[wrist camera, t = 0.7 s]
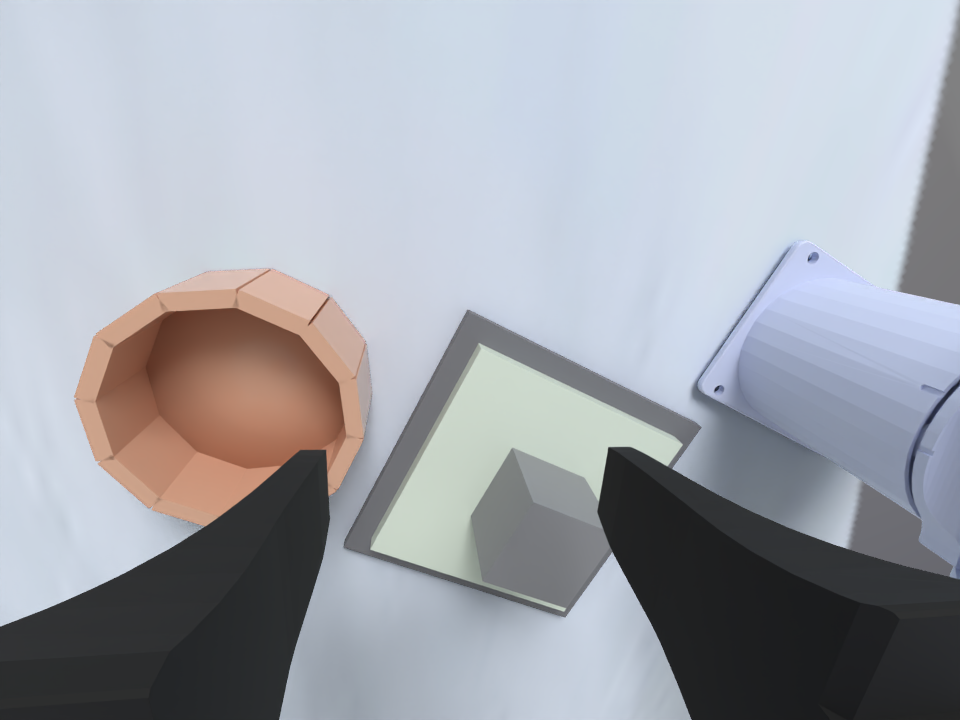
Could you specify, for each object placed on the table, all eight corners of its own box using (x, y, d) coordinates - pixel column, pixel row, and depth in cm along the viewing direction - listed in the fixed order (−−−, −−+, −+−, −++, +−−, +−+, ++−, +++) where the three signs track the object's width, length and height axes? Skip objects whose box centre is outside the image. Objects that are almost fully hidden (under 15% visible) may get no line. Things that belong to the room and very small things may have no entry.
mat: (695, 422, 24) (701, 427, 24) (562, 610, 27) (565, 617, 27) (467, 309, 20) (469, 312, 20) (344, 540, 24) (343, 547, 23)
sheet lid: (674, 436, 23) (736, 495, 19) (559, 599, 26) (590, 684, 22) (478, 342, 20) (497, 386, 16) (371, 537, 23) (362, 622, 19)
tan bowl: (404, 329, 20) (403, 362, 17) (321, 495, 23) (303, 556, 19) (184, 227, 18) (124, 239, 14) (115, 424, 20) (47, 478, 16)
